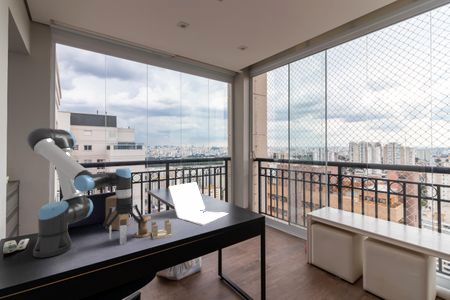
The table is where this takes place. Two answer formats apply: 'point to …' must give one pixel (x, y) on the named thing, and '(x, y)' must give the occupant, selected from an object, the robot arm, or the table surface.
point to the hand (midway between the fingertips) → (124, 236)
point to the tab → (123, 231)
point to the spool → (143, 228)
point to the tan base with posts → (161, 233)
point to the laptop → (191, 204)
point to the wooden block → (112, 203)
